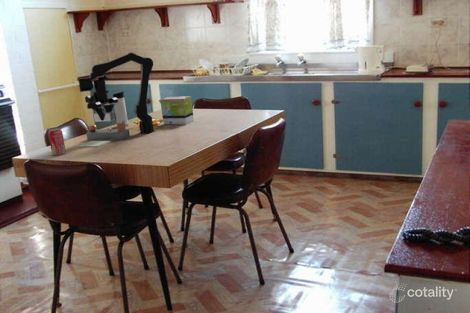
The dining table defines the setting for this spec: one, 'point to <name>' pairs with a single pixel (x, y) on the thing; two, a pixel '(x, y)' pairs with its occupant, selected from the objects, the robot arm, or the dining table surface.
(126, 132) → the hand plane
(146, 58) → the robot arm
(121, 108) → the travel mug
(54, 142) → the beverage can
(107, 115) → the lever cap
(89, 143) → the rubber mat
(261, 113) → the dining table surface
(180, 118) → the tea box
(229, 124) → the dining table surface
